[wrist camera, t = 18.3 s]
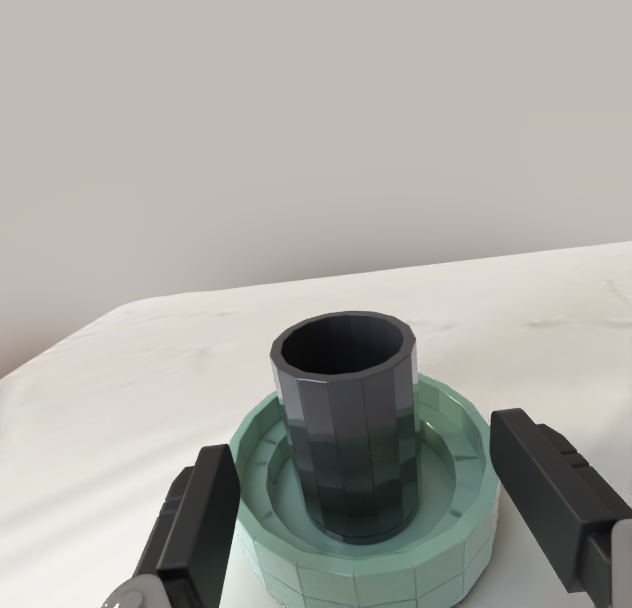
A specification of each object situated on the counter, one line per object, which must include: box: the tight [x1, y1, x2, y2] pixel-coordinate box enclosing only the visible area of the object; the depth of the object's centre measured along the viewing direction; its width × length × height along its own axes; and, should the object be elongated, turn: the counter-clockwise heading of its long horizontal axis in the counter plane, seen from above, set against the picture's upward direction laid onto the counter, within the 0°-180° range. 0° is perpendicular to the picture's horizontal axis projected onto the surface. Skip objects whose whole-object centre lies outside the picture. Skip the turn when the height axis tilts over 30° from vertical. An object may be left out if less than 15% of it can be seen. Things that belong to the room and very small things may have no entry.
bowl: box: [229, 373, 501, 608], centre depth 19 cm, size 13×13×4 cm
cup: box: [270, 311, 422, 545], centre depth 18 cm, size 6×6×9 cm
